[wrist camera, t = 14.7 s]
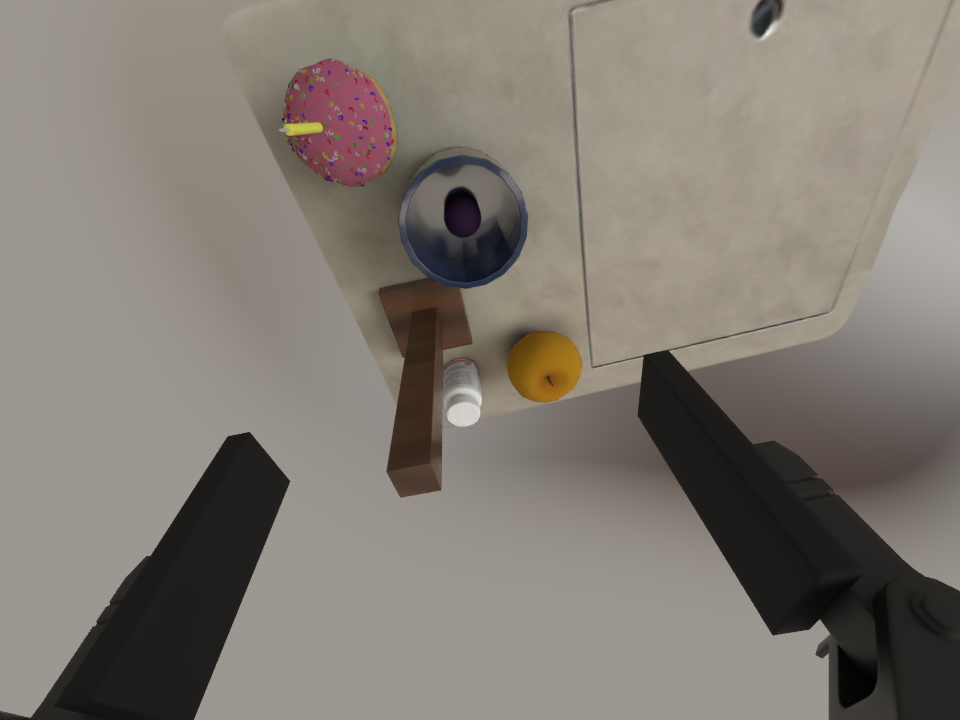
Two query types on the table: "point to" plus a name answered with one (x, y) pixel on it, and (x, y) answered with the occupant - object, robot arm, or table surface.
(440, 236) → the pot
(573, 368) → the apple
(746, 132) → the table surface
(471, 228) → the purple plum
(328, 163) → the cupcake
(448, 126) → the table surface
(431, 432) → the stand
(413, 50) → the table surface
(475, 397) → the pill bottle
